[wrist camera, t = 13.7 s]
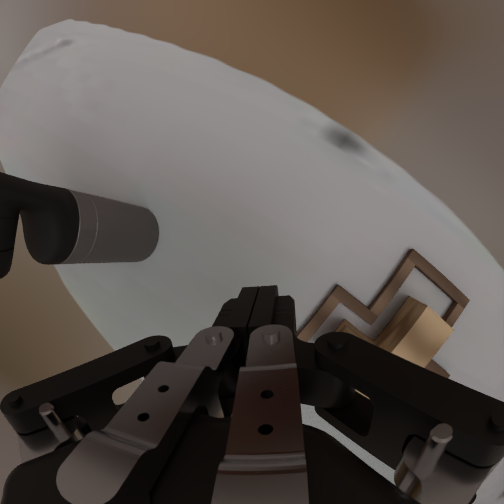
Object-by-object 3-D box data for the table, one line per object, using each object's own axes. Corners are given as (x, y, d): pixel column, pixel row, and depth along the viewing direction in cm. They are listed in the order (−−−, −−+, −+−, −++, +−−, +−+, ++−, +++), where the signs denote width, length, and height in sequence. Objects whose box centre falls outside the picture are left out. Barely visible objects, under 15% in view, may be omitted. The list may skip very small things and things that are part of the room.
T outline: (405, 417, 34) (407, 422, 33) (295, 337, 39) (293, 340, 38) (485, 318, 32) (489, 320, 30) (380, 224, 36) (382, 223, 35)
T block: (398, 402, 35) (409, 430, 27) (321, 346, 38) (320, 367, 30) (454, 336, 33) (477, 352, 25) (380, 272, 36) (393, 277, 29)
